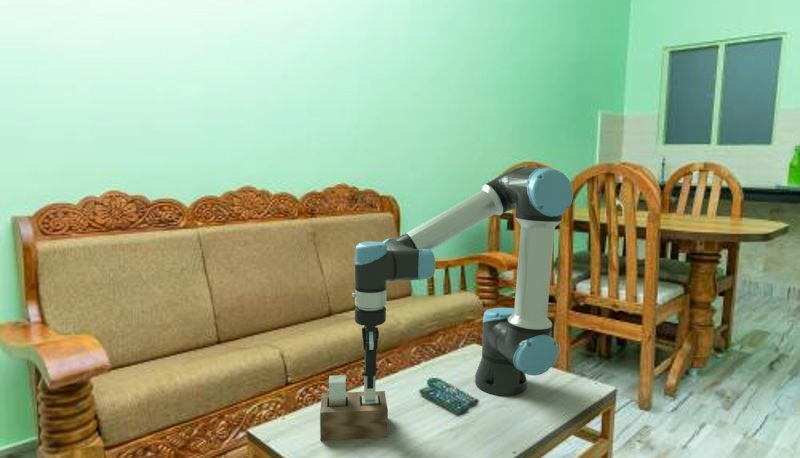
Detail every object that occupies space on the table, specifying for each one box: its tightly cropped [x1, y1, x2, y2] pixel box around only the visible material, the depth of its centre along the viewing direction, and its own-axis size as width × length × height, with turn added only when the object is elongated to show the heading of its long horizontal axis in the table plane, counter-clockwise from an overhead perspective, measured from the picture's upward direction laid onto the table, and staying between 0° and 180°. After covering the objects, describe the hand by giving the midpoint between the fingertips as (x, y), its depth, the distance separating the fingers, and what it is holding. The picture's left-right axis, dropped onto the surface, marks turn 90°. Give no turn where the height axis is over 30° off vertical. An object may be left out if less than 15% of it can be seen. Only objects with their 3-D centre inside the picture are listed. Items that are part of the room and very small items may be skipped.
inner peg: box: [362, 395, 379, 406], centre depth 129 cm, size 4×4×6 cm
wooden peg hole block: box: [319, 390, 389, 441], centre depth 129 cm, size 16×10×7 cm, turn 96°
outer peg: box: [328, 374, 347, 407], centre depth 127 cm, size 4×4×6 cm
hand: (369, 398), depth 128 cm, fingers closed
